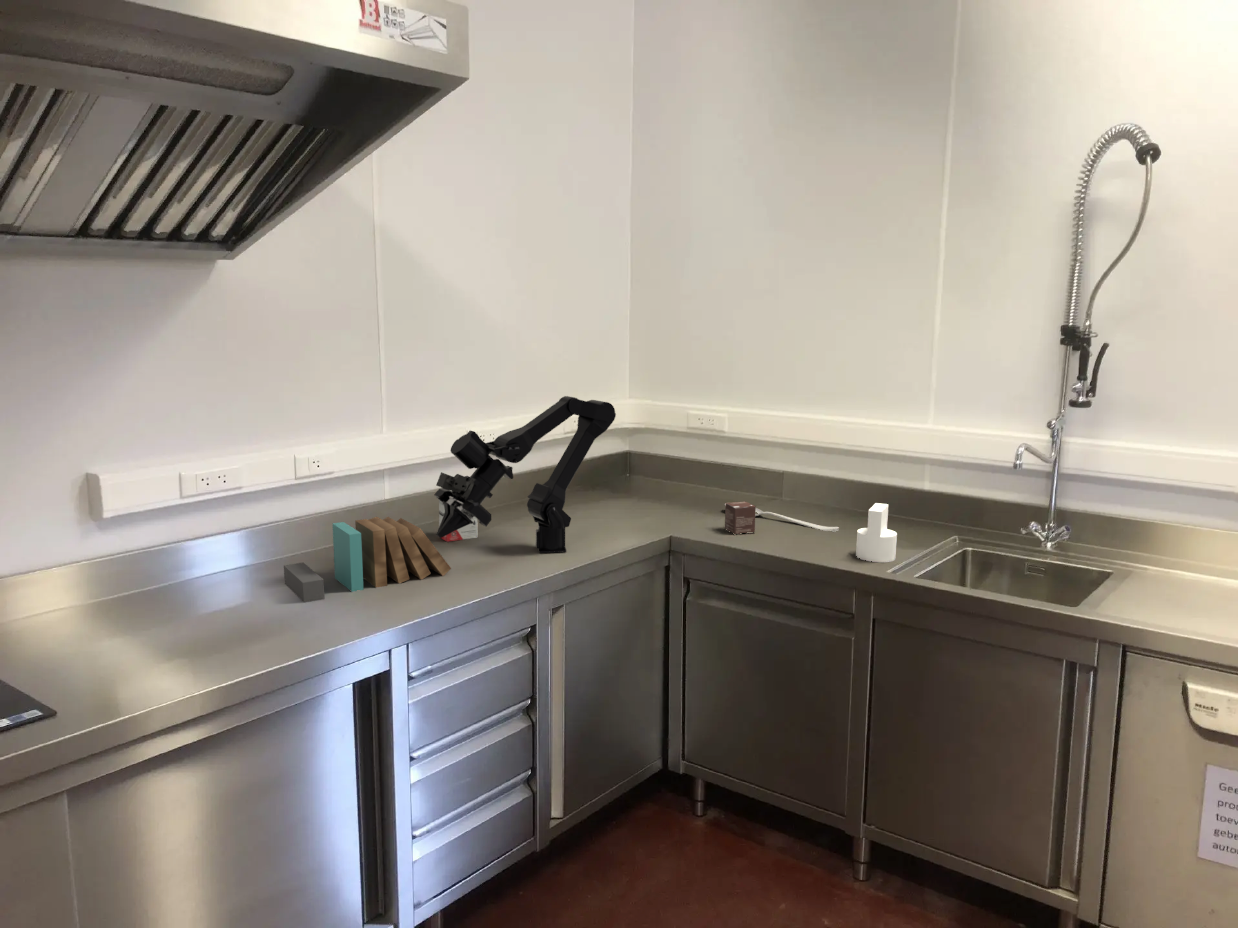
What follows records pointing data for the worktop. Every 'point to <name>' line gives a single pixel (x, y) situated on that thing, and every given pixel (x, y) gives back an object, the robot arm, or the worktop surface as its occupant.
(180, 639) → the worktop surface
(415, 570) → the domino
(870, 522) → the cylinder with rectangular tab
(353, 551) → the domino
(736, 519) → the box
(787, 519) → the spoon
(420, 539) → the domino
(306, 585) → the block
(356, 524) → the domino
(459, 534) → the ink box
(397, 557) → the domino
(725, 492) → the worktop surface
